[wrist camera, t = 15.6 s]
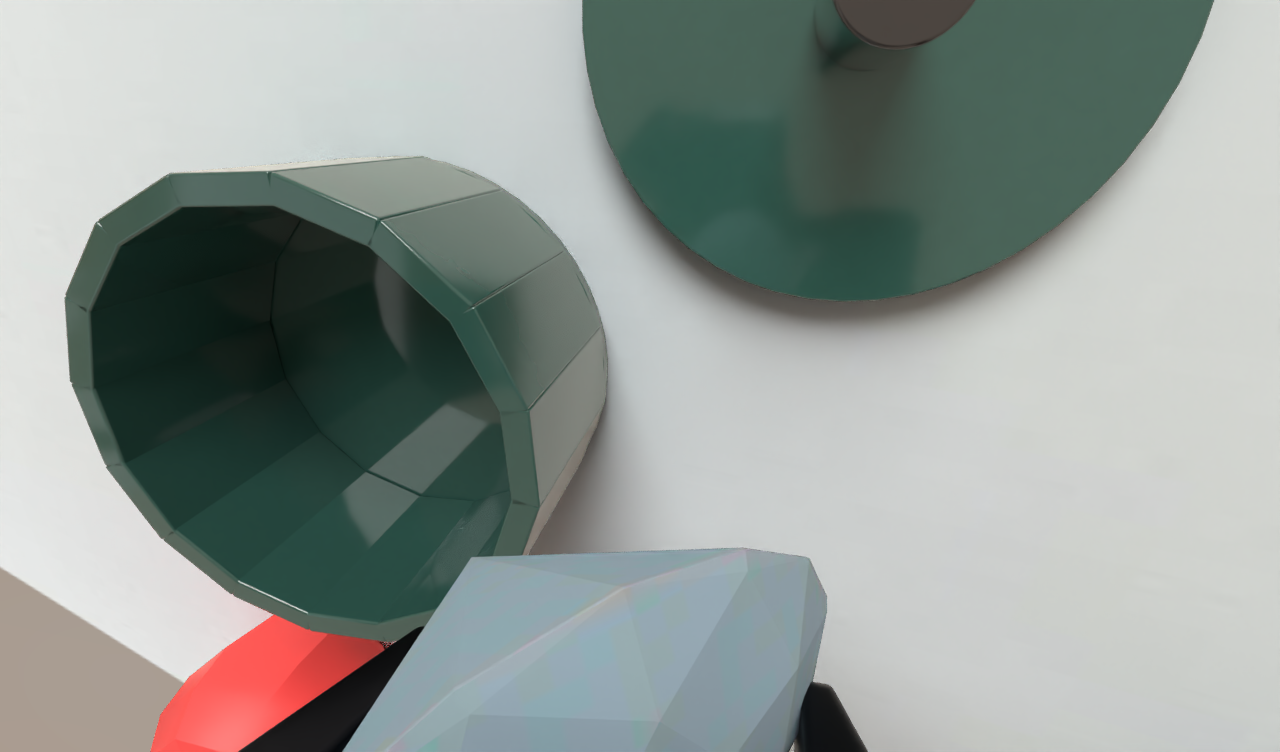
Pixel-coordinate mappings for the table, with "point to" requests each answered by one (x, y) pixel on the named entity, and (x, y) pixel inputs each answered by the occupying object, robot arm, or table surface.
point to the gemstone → (609, 656)
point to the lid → (877, 126)
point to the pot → (336, 378)
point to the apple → (256, 686)
